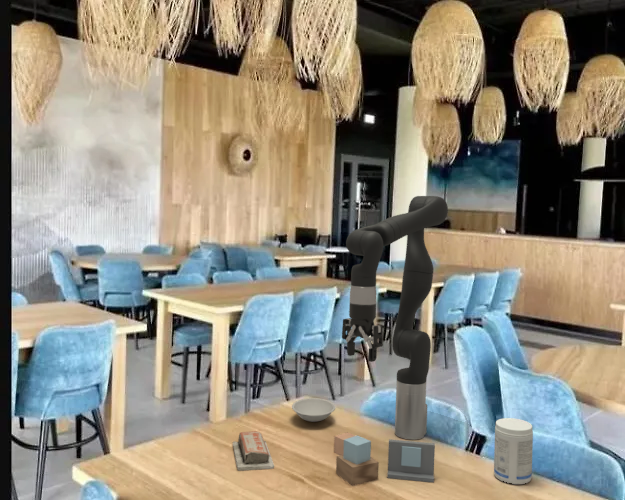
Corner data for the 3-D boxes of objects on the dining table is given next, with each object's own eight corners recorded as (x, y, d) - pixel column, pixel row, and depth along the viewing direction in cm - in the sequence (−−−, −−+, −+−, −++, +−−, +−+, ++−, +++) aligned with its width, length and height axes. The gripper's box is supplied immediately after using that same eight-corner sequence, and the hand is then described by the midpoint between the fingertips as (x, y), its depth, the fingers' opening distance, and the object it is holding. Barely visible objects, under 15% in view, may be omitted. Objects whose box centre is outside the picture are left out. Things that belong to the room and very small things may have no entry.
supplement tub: (528, 472, 164) (531, 419, 163) (533, 488, 155) (536, 431, 154) (491, 468, 166) (494, 416, 165) (494, 483, 157) (496, 428, 156)
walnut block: (361, 468, 164) (361, 450, 164) (378, 480, 157) (378, 462, 157) (336, 474, 160) (336, 455, 160) (351, 486, 153) (352, 467, 153)
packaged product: (232, 430, 177) (265, 428, 180) (232, 446, 178) (265, 444, 180) (237, 455, 160) (274, 452, 162) (237, 472, 160) (274, 470, 162)
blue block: (356, 453, 162) (357, 435, 162) (370, 459, 158) (370, 441, 158) (343, 458, 159) (343, 439, 158) (356, 464, 155) (357, 445, 155)
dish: (333, 431, 190) (334, 416, 190) (288, 429, 191) (289, 414, 191) (336, 413, 208) (336, 399, 208) (294, 411, 209) (294, 397, 209)
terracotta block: (346, 448, 177) (347, 432, 177) (358, 454, 174) (358, 437, 173) (333, 452, 174) (334, 435, 174) (345, 458, 170) (346, 441, 170)
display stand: (388, 468, 164) (389, 436, 164) (433, 472, 162) (434, 440, 161) (387, 478, 158) (388, 444, 158) (433, 482, 156) (435, 448, 156)
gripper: (390, 303, 167) (388, 361, 168) (355, 297, 178) (353, 351, 179) (371, 306, 162) (369, 365, 163) (336, 299, 173) (334, 354, 174)
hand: (361, 358), depth 171 cm, fingers open, 8 cm apart
